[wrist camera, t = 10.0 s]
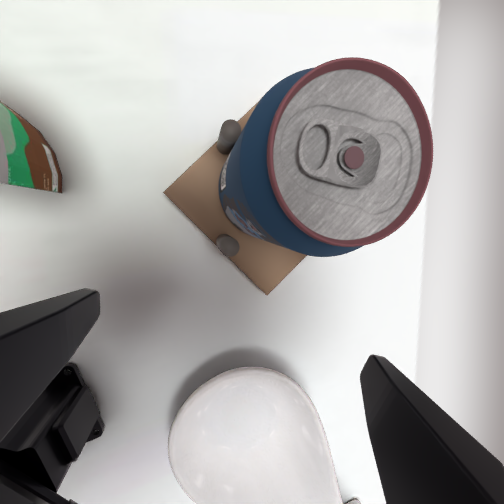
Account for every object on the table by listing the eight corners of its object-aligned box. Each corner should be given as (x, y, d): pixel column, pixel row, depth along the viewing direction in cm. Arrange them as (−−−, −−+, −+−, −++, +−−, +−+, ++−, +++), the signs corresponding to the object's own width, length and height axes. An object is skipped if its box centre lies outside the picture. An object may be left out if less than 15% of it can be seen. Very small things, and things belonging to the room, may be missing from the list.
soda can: (314, 156, 20) (473, 77, 9) (295, 244, 21) (419, 280, 9) (226, 131, 19) (277, -7, 7) (209, 227, 19) (227, 244, 8)
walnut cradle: (262, 290, 22) (280, 311, 18) (165, 194, 20) (155, 187, 15) (350, 201, 23) (391, 197, 18) (268, 96, 20) (290, 59, 16)
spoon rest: (142, 414, 22) (118, 505, 15) (249, 321, 23) (272, 367, 16) (302, 550, 28) (338, 663, 21) (383, 472, 28) (444, 554, 22)
